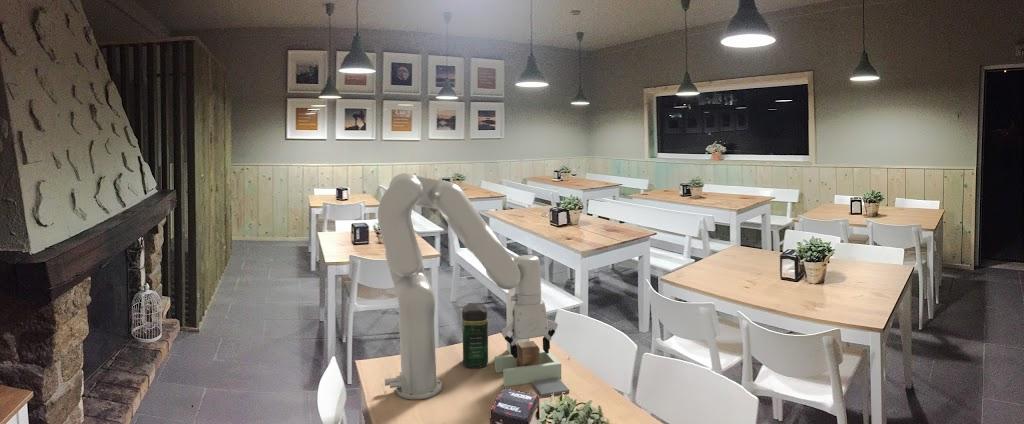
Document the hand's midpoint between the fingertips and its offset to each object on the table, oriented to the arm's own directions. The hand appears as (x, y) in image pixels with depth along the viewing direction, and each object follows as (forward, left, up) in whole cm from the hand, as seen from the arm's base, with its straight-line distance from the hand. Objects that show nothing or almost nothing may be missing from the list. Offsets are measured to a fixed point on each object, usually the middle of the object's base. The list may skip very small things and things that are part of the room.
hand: (530, 354), depth 159 cm
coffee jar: (-14, +13, -6) cm, 20 cm away
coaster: (+2, -10, -6) cm, 12 cm away
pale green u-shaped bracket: (-2, 0, -6) cm, 6 cm away
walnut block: (-1, 0, -6) cm, 6 cm away
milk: (+1, +17, -6) cm, 18 cm away
